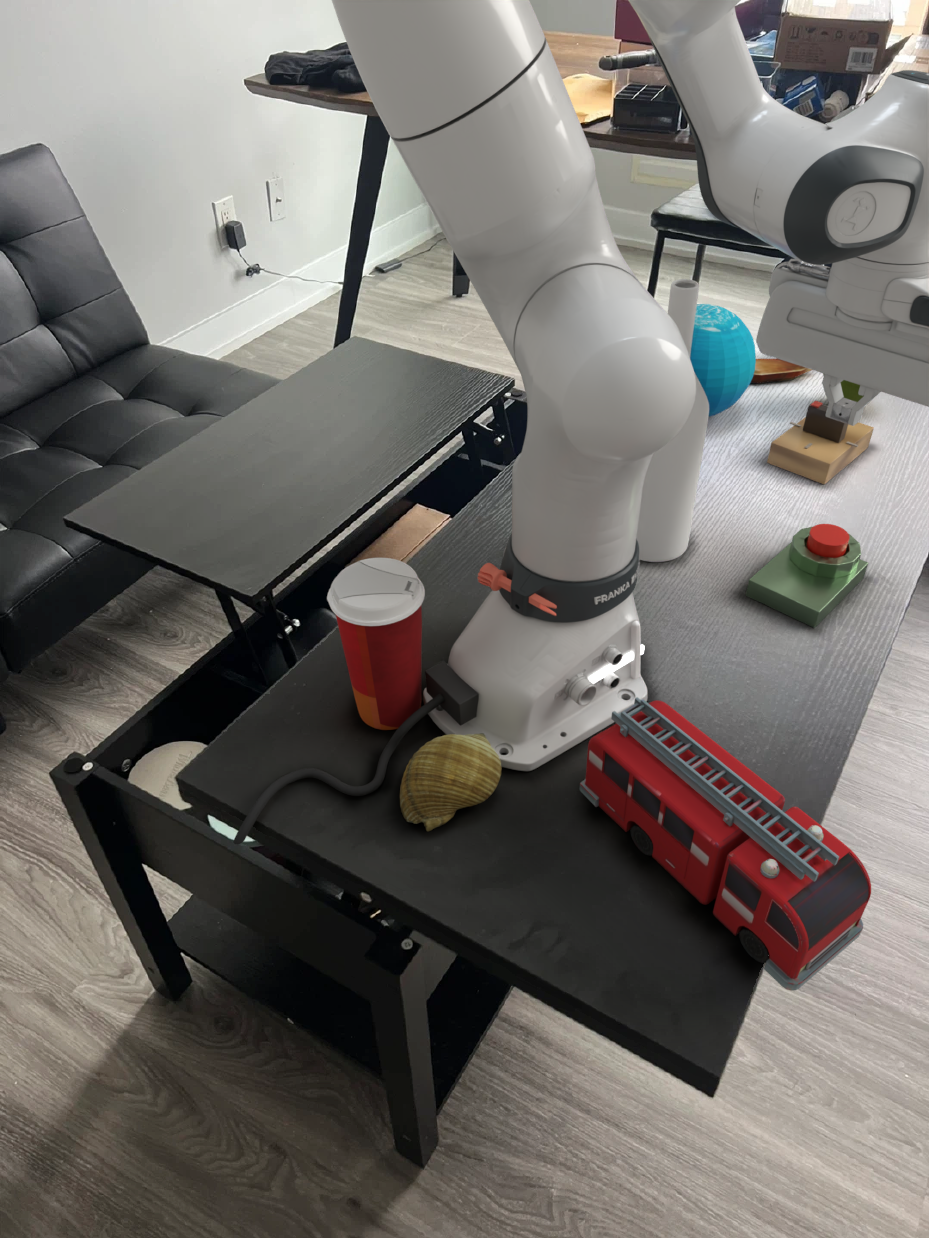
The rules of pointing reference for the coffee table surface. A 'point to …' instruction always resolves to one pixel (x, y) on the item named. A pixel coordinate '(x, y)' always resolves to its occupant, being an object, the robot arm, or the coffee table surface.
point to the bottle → (675, 457)
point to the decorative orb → (721, 356)
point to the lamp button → (827, 540)
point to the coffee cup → (381, 637)
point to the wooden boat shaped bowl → (776, 371)
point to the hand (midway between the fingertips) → (842, 419)
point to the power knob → (823, 423)
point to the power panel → (818, 451)
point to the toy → (729, 840)
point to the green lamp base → (807, 580)
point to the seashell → (448, 778)
